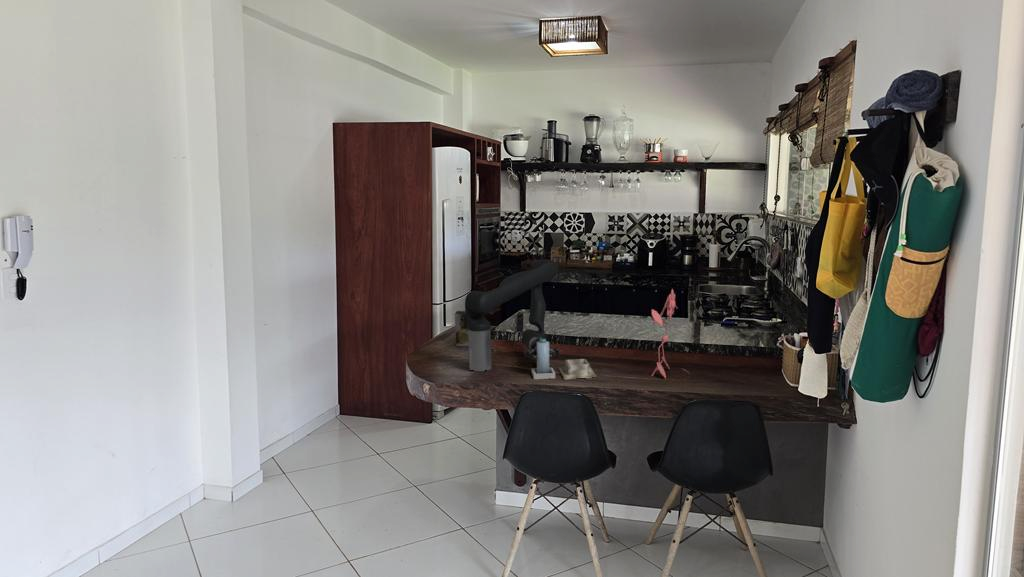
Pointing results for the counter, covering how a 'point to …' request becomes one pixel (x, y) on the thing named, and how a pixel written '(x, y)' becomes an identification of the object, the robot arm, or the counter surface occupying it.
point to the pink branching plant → (658, 319)
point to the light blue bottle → (542, 356)
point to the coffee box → (461, 329)
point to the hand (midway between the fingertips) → (543, 357)
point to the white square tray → (543, 374)
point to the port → (577, 369)
